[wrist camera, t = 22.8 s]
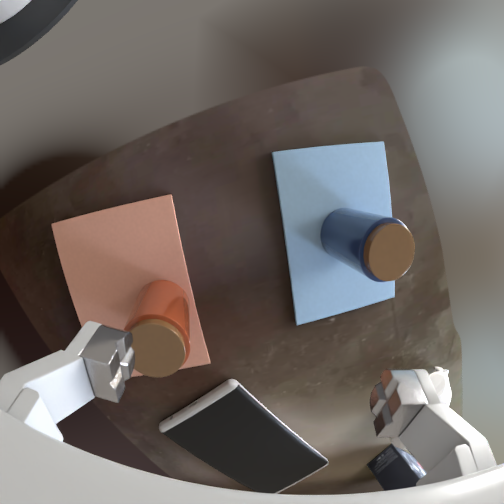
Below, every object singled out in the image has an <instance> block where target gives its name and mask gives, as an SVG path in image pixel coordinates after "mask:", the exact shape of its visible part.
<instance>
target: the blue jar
mask: <svg viewBox="0 0 504 504" xmlns="http://www.w3.org/2000/svg"><path fill="white" fill-rule="evenodd" d="M320 237H321V243H322V246H323V248H324V250H325V251H326V252H327V253H328V254H329V255H330V256H331V257H333V258H335V259H337V260H338V261H340V262H342V263H343V264H345V265H347V266H349V267H350V268H352V269H354V270H355V271H357V272H359V273H361V274H362V275H364V276H366V277H367V278H369V279H371V280H373V281H376V282H387V281H394V280H396V279H398V278H400V277H401V276H403V275H404V274H405V273H406V271H407V270H408V269H409V267H410V265H411V263H412V261H413V258H414V252H415V244H414V239H413V237H412V234H411V233H410V231H409V230H408V229H407V228H406V226H405V225H404V224H403V223H402V222H401V221H399V220H397V219H395V218H391V217H387V216H382V215H378V214H374V213H369V212H365V211H360V210H356V209H351V208H339V209H337V210H335V211H333V212H331V213H330V214H329V215H328V216H327V217H326V219H325V220H324V222H323V224H322V227H321V233H320Z"/></svg>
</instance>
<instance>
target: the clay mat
mask: <svg viewBox="0 0 504 504" xmlns="http://www.w3.org/2000/svg"><path fill="white" fill-rule="evenodd" d="M51 225H52V229H53V233H54V238H55V242H56V246H57V250H58V253H59V257H60V261H61V264H62V268H63V271H64V275H65V278H66V282H67V285H68V288H69V291H70V294H71V297H72V300H73V303H74V306H75V309H76V312H77V315H78V318H79V321H80V323H81V326H82V327H83V326H84V324H85V323H86V322H88V321H93V322H97V323H100V324H104V325H108V326H111V327H115V328H118V329H122V330H123V329H124V327H125V324H126V322H127V319H128V317H129V315H130V312H131V310H132V308H133V305H134V303H135V301H136V298H137V296H138V294H139V292H140V290H141V289H142V288H143V287H144V286H145V285H146V284H148V283H150V282H152V281H156V280H167V281H171V282H174V283H176V284H177V285H179V286H180V287H181V288H182V289H183V290H184V291H185V292H186V294H187V296H188V298H189V301H190V354H189V357H188V359H187V361H186V362H185V363H184V365H183V366H182V367H181V368H179V369H184V368H189V367H195V366H200V365H205V364H210V359H209V355H208V352H207V348H206V344H205V340H204V337H203V333H202V329H201V325H200V321H199V317H198V313H197V309H196V305H195V301H194V297H193V293H192V289H191V284H190V280H189V276H188V271H187V267H186V262H185V258H184V253H183V249H182V244H181V239H180V235H179V230H178V225H177V220H176V215H175V210H174V205H173V199H172V195H171V194H170V195H165V196H161V197H156V198H151V199H147V200H142V201H138V202H134V203H129V204H125V205H121V206H117V207H113V208H109V209H105V210H101V211H97V212H93V213H89V214H85V215H81V216H78V217H74V218H70V219H67V220H63V221H59V222H56V223H53V224H51ZM140 375H143V374H141V373H139V372H138V371H136V370H135V369H133V373H132V375H131V377H133V376H140Z"/></svg>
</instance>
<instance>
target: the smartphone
mask: <svg viewBox="0 0 504 504" xmlns="http://www.w3.org/2000/svg"><path fill="white" fill-rule="evenodd" d="M159 430H160V431H161V432H162V433H163V434H164V435H166V436H167V437H169V438H170V439H171V440H173V441H174V442H176V443H177V444H178V445H180V446H181V447H183V448H184V449H186V450H187V451H189V452H190V453H192V454H193V455H195V456H196V457H198V458H199V459H201V460H202V461H204V462H205V463H207V464H209V465H210V466H212V467H213V468H215V469H217V470H218V471H220V472H222V473H223V474H225V475H227V476H228V477H230V478H232V479H234V480H235V481H237V482H239V483H241V484H243V485H244V486H246V487H248V488H250V489H252V490H254V491H256V492H259V493H271V494H277V493H279V492H281V491H283V490H285V489H287V488H289V487H291V486H293V485H295V484H296V483H298V482H300V481H302V480H304V479H305V478H307V477H309V476H311V475H312V474H314V473H316V472H317V471H319V470H321V469H322V468H324V467H326V466H327V465H328V463H329V462H328V460H327V458H325V457H324V456H323V455H321V454H320V453H319V452H318V451H316V450H315V449H314V448H313V447H311V446H310V445H309V444H308V443H307V442H305V441H304V440H303V439H302V438H301V437H299V436H298V435H297V434H296V433H295V432H293V431H292V430H291V429H290V428H289V427H287V426H286V425H285V424H284V423H283V422H282V421H281V420H279V419H278V418H277V417H276V416H275V415H274V414H273V413H271V412H270V411H269V410H268V409H267V408H266V407H265V406H264V405H262V404H261V403H260V402H259V401H258V400H257V399H256V398H255V397H254V396H253V395H252V394H250V393H249V392H248V391H247V390H246V389H245V388H244V387H243V386H242V385H241V384H240V383H239V382H238V381H236V380H234V379H229V380H227V381H225V382H224V383H222V384H221V385H219V386H218V387H216V388H215V389H213V390H212V391H210V392H209V393H207V394H206V395H204V396H202V397H201V398H199V399H198V400H196V401H195V402H193V403H191V404H190V405H188V406H187V407H185V408H183V409H182V410H180V411H178V412H177V413H175V414H173V415H172V416H170V417H168V418H167V419H165V420H163V421H162V422H160V424H159Z"/></svg>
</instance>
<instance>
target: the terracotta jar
mask: <svg viewBox="0 0 504 504" xmlns="http://www.w3.org/2000/svg"><path fill="white" fill-rule="evenodd" d="M123 330H125V331H129V332H131V333H132V337H133V343H132V345H131V348H132V349H133V350H134V351H135V365H134V369H135V370H136V371H138V372H139V373H141V374H143V375H146V376H150V377H165V376H169V375H171V374H173V373H175V372H176V371H177V370H178V369H179V368H181V367H182V366H183V365H184V363H185V362H186V361H187V359H188V357H189V354H190V301H189V298H188V296H187V294H186V292H185V291H184V290H183V289H182V288H181V287H180V286H179V285H177V284H176V283H174V282H171V281H167V280H156V281H152V282H150V283H148V284H146V285H145V286H144V287H143V288H142V289H141V290H140V292H139V294H138V296H137V298H136V301H135V303H134V305H133V308H132V310H131V312H130V315H129V317H128V319H127V322H126V324H125V327H124V329H123Z"/></svg>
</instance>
